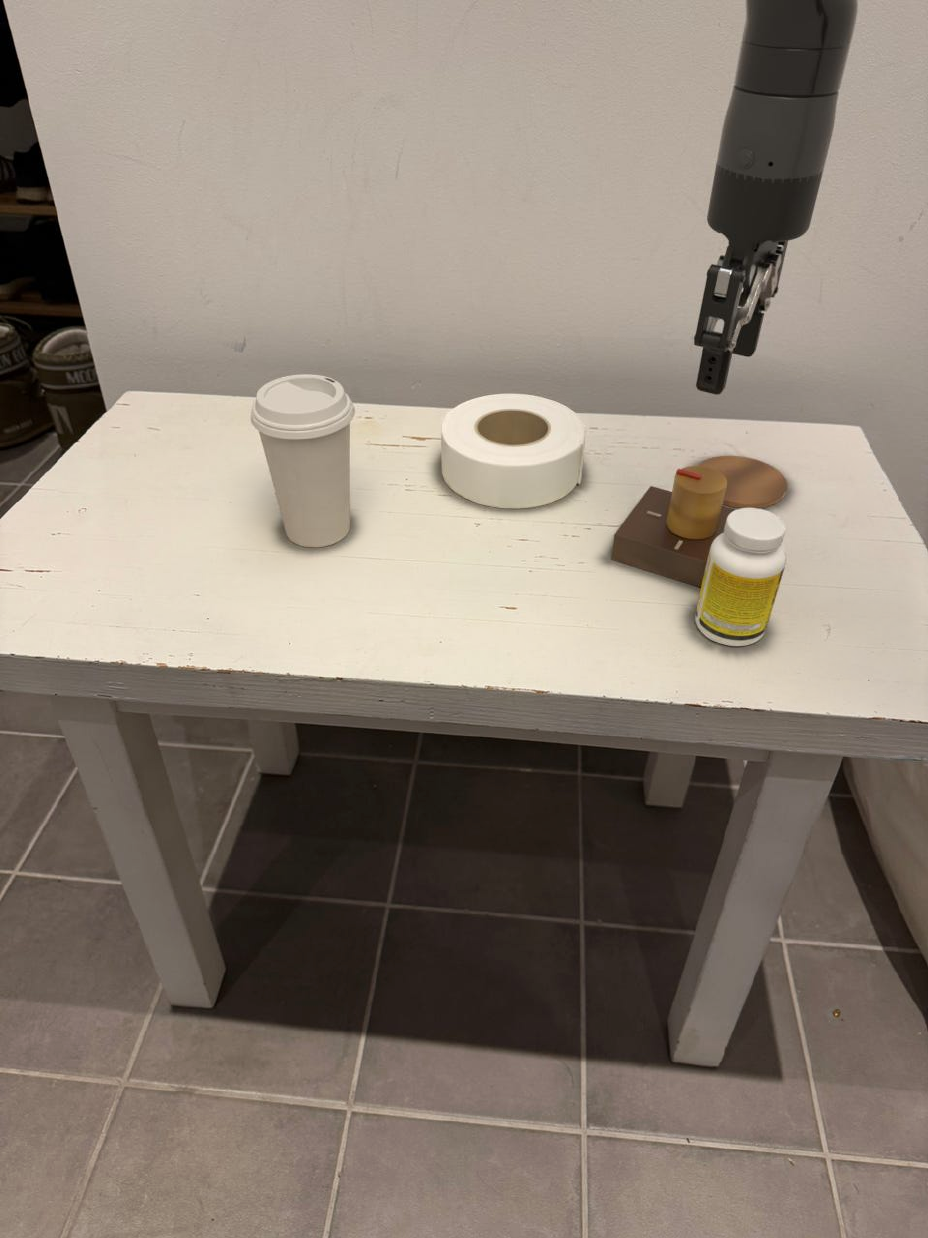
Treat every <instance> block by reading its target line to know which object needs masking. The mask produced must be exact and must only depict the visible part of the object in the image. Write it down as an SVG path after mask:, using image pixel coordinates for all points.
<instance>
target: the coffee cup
mask: <svg viewBox="0 0 928 1238" xmlns="http://www.w3.org/2000/svg"><path fill="white" fill-rule="evenodd" d="M355 411H356V410H355V405H354V403H353V401H352V398H351V397H350V396H349V395H348V393H346V392H345V389H344V387H343V385H342V384H341V383H340V382H339V381H338V380H335V379H334V378H332V377H330V376H329V377H328V376H325V375H320V374H309V373H304V374H301V373H300V374H291V375H286V376H282V377H278V378H276V379H272V380H270V381H269V382H267V383H265V384H264V385H262V386H261V387H260V388H259V389H258V391H257V392H256V396H255V400H254V402H253V404H252V407H251V411H250V423H251V425H252V426H253V427H254V429H255V430H257V431H258V434H259V437H260V441H261V444H262V448H263V451H264V452H263V453H264V456H265V459H266V463H267V466H268V470H269V474H270V478H271V483H272V486H273V489H274V491H275V492H274V493H275V496H276V499H277V504H278V508H279V511H280V516H281V519H282V523H283V527H284V531H285V534H286V537H287V538H288V540H290V541H291V542H292V543H293V544H295V545H297V546H301V547H304V548H323V547H328V546H332V545H334V544H337V543H339V542H340V541H342V540H344V538H346V537H347V535H348V533H349V532H350V528H351V492H350V491H351V423H352V420H353V419H354V417H355V413H356V412H355Z"/></svg>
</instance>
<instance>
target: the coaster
mask: <svg viewBox="0 0 928 1238" xmlns="http://www.w3.org/2000/svg"><path fill="white" fill-rule="evenodd" d="M697 466H702V467H708V468H711V469H714V470H716V471H718V472H720V473H721V474H723V475H724V476H725V477H726V479H727V487H726V492H725V496H724V500H723V506H727V507H731V508H737V509H741V508H758V509H763V508H767V507H770V506H773V505H775V504H777V503H779V502H781V501H782V500H783V499H784V497H785V496H786V493H787V490H788V482H787V479H786V478H785V476H784V475H783V473H781V472H780V471H779V470H778V469H777V468H775V467H774V466H772V465H771V464H768V463H766V462H764V461H762V460H760V459H759V460H758V459H756V458H751V457H748V456H742V455H741V456H740V455H719V456H714V457H710V458H707V459H705V460H703V461H701V462H700V463H698V464H697Z"/></svg>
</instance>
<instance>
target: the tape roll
mask: <svg viewBox="0 0 928 1238" xmlns="http://www.w3.org/2000/svg"><path fill="white" fill-rule="evenodd" d="M440 426H441V427H440V447H441V449H440V450H441V454H440V455H441V475H442V477H443V480H444V482H445V483H446V485H447V486H448V487H449V488H450V489H451V490H452V491H453V492H454V493H455V494H457V495H459V496H461V497H462V498H464V499H466V500H468V501H470V502H473V503H476V504H479V505H483V506H486V507H491V508H492V507H493V508H499V509H515V510H516V509H529V508H530V509H531V508H536V507H541V506H546V505H548V504H551V503H554V502H557V501H559V500H560V499H562V498H564V497H566V496H567V495H568V494H570V493H571V492H572V491H573V490H574V488H576V486H577V485H581V482H582V477H583V476H582V475H583V469H584V457H585V449H586V448H585V447H586V426H585V424H584V423H583V421H582V419H581V418H580V416H579V414H578V413H576V412H575V411H573V410H572V409H571V408H569V407H568V406H566V405H564V404H562V403H559V402H558V401H555V400H552V399H549V398H546V397H542V396H537V395H533V394H525V393H524V394H523V393H498V394H497V393H495V394H488V395H483V396H479V397H478V396H477V397H475V398H472V399H469V400H466V401H463V402H462V403H460V404H458V405H456V406H455V407H453V408H452V409H450V410H449V411H448V412H447V413H446V414H445V416H444V418H443V420H442V421H441V425H440Z"/></svg>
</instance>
